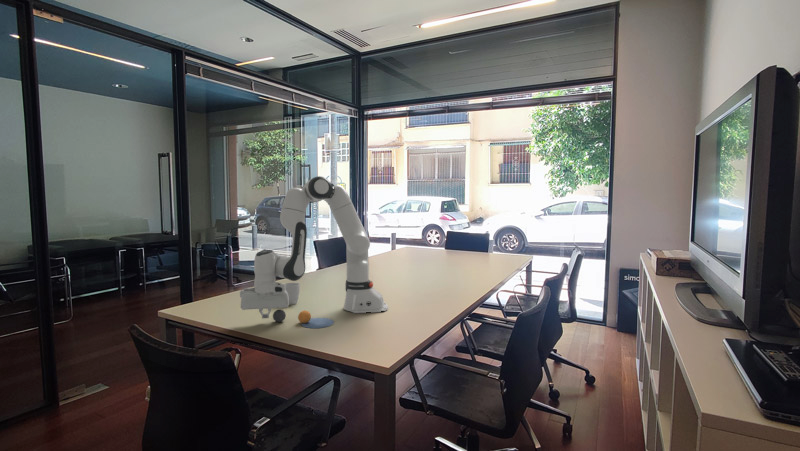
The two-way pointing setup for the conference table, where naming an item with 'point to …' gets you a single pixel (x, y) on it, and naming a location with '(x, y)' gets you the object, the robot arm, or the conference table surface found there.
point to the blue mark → (318, 323)
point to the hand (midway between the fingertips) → (265, 318)
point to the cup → (293, 292)
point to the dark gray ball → (279, 315)
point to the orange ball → (304, 316)
